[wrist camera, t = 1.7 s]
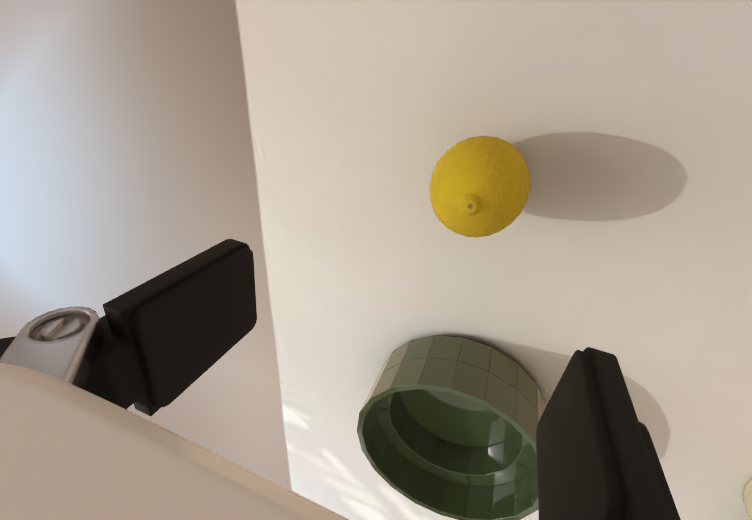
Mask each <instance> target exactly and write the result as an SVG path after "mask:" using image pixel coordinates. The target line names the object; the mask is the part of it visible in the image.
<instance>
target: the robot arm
mask: <svg viewBox="0 0 752 520" xmlns="http://www.w3.org/2000/svg"><path fill="white" fill-rule="evenodd" d="M103 308H104V311H105V314H106V315H105V316H103V317H101V318H100V319H99V316H98V315H97V313H96V311H94V310H92V309H90V308H86V307H68V308H61V309H57V310H54V311H50V312H47V313H45V314H43V315H41V316H39V317H36V318H35V319H33V320H32V321H30V322H28V323H27V324H26V325H25V326H24V327H23V328H22V329H21V331H20V332H19V333H18V335H17V336H16V337H9V338H3V339H0V520H349V519H347V518H345V517H343V516H341V515H339V514H337V513H335V512H333V511H331V510H329V509H327V508H325V507H323V506H321V505H319V504H317V503H315V502H313V501H311V500H309V499H307V498H305V497H303V496H301V495H299V494H297V493H295V492H293V491H291V490H288V489H287V488H284V487H283V486H281V485H279V484H276V483H274V482H272V481H270V480H268V479H266V478H264V477H262V476H260V475H258V474H256V473H254V472H252V471H250V470H248V469H246V468H244V467H242V466H240V465H238V464H236V463H234V462H232V461H230V460H228V459H226V458H224V457H222V456H220V455H218V454H216V453H214V452H212V451H210V450H208V449H206V448H204V447H201V446H200V445H198V444H196V443H194V442H191V441H189V440H187V439H185V438H183V437H181V436H179V435H177V434H175V433H173V432H171V431H169V430H167V429H165V428H163V427H161V426H159V425H157V424H155V423H152V422H151V421H148V420H146V419H144V418H142V417H140V416H138V415H136V414H134V413H132V412H130V411H128V410H127V408H128V407H129V406H130V405H132V404H133V403H134V405H135V408H136V409H137V410H139V411H141V412H143V413H145V414H147V415H149V416H152V415H153V414H154V413H155V412H156V411H158V409H159V408H161V407H165V406H167V405H169V404H170V403H171V402H172V401H174V399H176V398H177V397H178V396H179V395H180V394H181V393H182V392H183V391H184V390H185V389H187V388H188V387H189V386H190V385H191V384H192V383H193V382H194V381H195V380H196V379H198V378H199V377H200V376H201V375H202V374H203V373H204V372H205V371H207V370H208V369H209V368H210V367H211V366H212V365H213V364H214V363H215V362H216V361H218V359H220V358H221V357H222V356H223V355H224V354H225V353H226V352H227V351H228V350H230V349H231V348H232V347H233V346H234V345H235V344H236V343H237V342H238V341H240V339H242V338H243V337H244V336H245V335H246V334H247V333H248V332H250V331H251V330H252V329H253V327H254V326H255V324H256V320H257V313H256V296H255V279H254V262H253V252H252V251H251V250H250V248H249V246H248V245H247V244H246V243H243V242H240V241H236V240H233V239H227V240H225V241H223V242H221V243H219V244H217V245H215V246H213V247H211V248H210V249H208V250H206V251H204V252H202V253H200V254H198V255H196V256H194V257H193V258H191V259H189V260H187V261H185V262H183V263H181V264H179V265H177V266H175V267H173V268H172V269H170V270H168V271H166V272H164V273H162V274H160V275H158V276H157V277H154V278H153V279H151V280H149V281H147V282H145V283H143V284H141V285H139V286H138V287H136V288H134V289H132V290H130V291H128V292H126V293H124V294H122V295H120V296H119V297H117V298H115V299H113V300H111V301H109V302H107V303H105V304H103ZM536 452H537V480H538V507H539V520H680V517H679V514H678V512H677V509H676V506H675V503H674V500H673V498H672V495H671V492H670V489H669V487H668V484H667V481H666V478H665V476H664V473H663V470H662V467H661V464H660V462H659V459H658V456H657V453H656V451H655V448H654V445H653V442H652V439H651V437H650V434H649V432H648V430H647V428H646V426H645V425H644V424H643V423H641V422H638V419H637V416H636V413H635V410H634V407H633V404H632V401H631V398H630V395H629V393H628V390H627V387H626V384H625V381H624V378H623V375H622V372H621V369H620V366H619V363H618V360H617V358H616V356H615V355H613V354H610V353H607V352H603V351H600V350H597V349H593V348H590V347H587V348H586V349H585V350H584V351H579V350H576V351H575V353H574V354H573V356H572V358H571V360H570V362H569V364H568V366H567V368H566V370H565V371H564V373H563V375H562V377H561V379H560V381H559V383H558V385H557V387H556V389H555V391H554V393H553V395H552V396H551V398H550V400H549V402H548V404H547V406H546V408H545V410H544V412H543V414H542V416H541V418H540V420H539V422H538V425H537V429H536Z"/></svg>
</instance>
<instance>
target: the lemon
mask: <svg viewBox="0 0 752 520" xmlns="http://www.w3.org/2000/svg"><path fill="white" fill-rule="evenodd" d="M529 189H530V175H529V170H528V167H527V164H526V162H525V159H524V158H523V157H522V155H521V154H520V153H519V151H518V150H517V149H516V148H514V147H513V146H512V145H511V144H509V143H508V142H506V141H504V140H501V139H499V138H496V137H488V136H479V137H472V138H468V139H466V140H463V141H461V142H458V143H457V144H456V145H454V146H453V147H452V148H450V149H449V150H447V152H446V153H445V154H444V155H443V156H442V157H441V159H440V160H439V161H438V163H437V165H436V167H435V169H434V171H433V173H432V178H431V183H430V200H431V203H432V207H433V210H434V212H435V214H436V215H437V217H438V219H439V220H440V221H441V222H442V223H443V224H444V225H445V226H446V227H447V228H449V229H450V230H452V231H454V232H455V233H458V234H461V235H464V236H469V237H482V236H489V235H491V234H494V233H497V232H499V231H501V230H502V229H504V228H505V227H507V226H508V225H510V224H511V223H512V222H513V221H514V220H515V219H516V217H517V216H518V215H519V214H520V213H521V211H522V209H523V207H524V205H525V203H526V201H527V199H528V194H529Z"/></svg>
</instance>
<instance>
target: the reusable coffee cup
mask: <svg viewBox="0 0 752 520" xmlns="http://www.w3.org/2000/svg"><path fill="white" fill-rule="evenodd" d="M743 499H744V503H745V506H746V509H747V512H748V515H749V517H750V520H752V478H751V479H750V481H749V482H748V483H747V485H746V486H745V489H744V492H743Z"/></svg>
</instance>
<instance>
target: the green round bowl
mask: <svg viewBox="0 0 752 520" xmlns="http://www.w3.org/2000/svg"><path fill="white" fill-rule="evenodd" d="M545 408H546V404H545V402H544V400H543V397H542V395H541V393H540V390H539V388H538V386H537V384H536V383H535V381H534V380H533V379H532V378H531V377H530V376H529V375H528V374H527V373H526V372H525V371H524V370H523V368H522V367H521V366H520V365H519V364H518V363H517V362H515V361H513V360H512V359H510V358H509V357H507V356H505V355H504V354H502V353H501V352H499V351H497V350H496V349H494V348H492V347H490V346H487V345H484V344H481V343H478V342H475V341H472V340H469V339H466V338H462V337H448V336H431V337H426V338H421V339H416V340H412V341H410V342H408V343H406V344H405V345H403V346H401V347H400V348H398V349H396V350H395V351H394V352H393V353H392V354H391V355H390V357H389V358H388V360H387V361H386V362H385V364H384V365H383V367H382V369H381V371H380V373H379V375H378V377H377V379H376V381H375V383H374V385H373V387H372V389H371V391H370V393H369V395H368V397H367V399H366V401H365V403H364V405H363V407H362V409H361V411H360V413H359V420H358V427H357V433H358V437H359V441H360V444H361V448H362V451H363V452H364V454H365V456H366V457H367V459H368V460H369V462H370V464H371V465H372V467H373V468H374V470H375V471H376V472H377V473H378V474H379V475H380V476H381V477H382V478H383V479H384V480H385V481H386V482H387V483H388V484H389V485H390V486H391V487H392V488H394V489H395V490H397V491H398V492H400V493H401V494H403V495H404V496H405V497H407V498H408V499H410V500H411V501H413V502H415V503H416V504H418V505H421V506H423V507H425V508H427V509H429V510H431V511H433V512H436V513H438V514H440V515H443V516H447V517H451V518H454V519H458V520H520V519H522V518H524V517H526V516H527V515H529V514H531V513H533V512H535V511H536V510H538V509H539V507H538V480H537V452H536V429H537V425H538V422H539V420H540V418H541V416H542V414H543V412H544V410H545Z"/></svg>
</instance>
